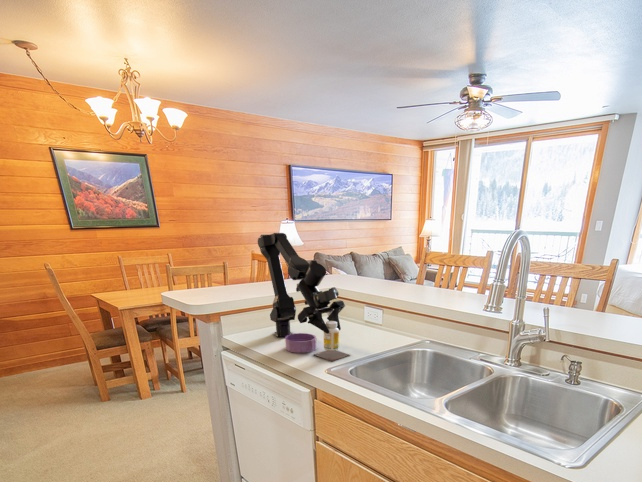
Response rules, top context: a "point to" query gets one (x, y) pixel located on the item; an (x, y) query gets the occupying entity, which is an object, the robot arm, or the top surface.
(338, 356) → the coaster
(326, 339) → the supplement bottle
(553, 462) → the top surface
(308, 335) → the dish
